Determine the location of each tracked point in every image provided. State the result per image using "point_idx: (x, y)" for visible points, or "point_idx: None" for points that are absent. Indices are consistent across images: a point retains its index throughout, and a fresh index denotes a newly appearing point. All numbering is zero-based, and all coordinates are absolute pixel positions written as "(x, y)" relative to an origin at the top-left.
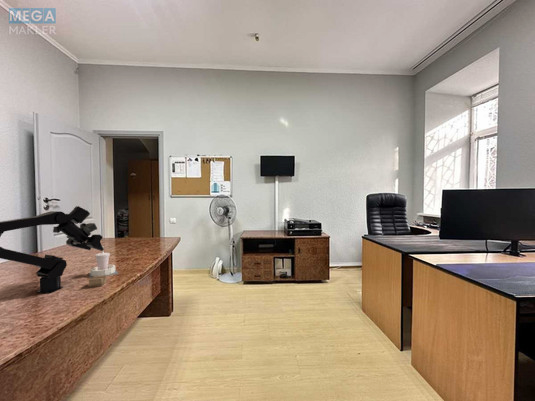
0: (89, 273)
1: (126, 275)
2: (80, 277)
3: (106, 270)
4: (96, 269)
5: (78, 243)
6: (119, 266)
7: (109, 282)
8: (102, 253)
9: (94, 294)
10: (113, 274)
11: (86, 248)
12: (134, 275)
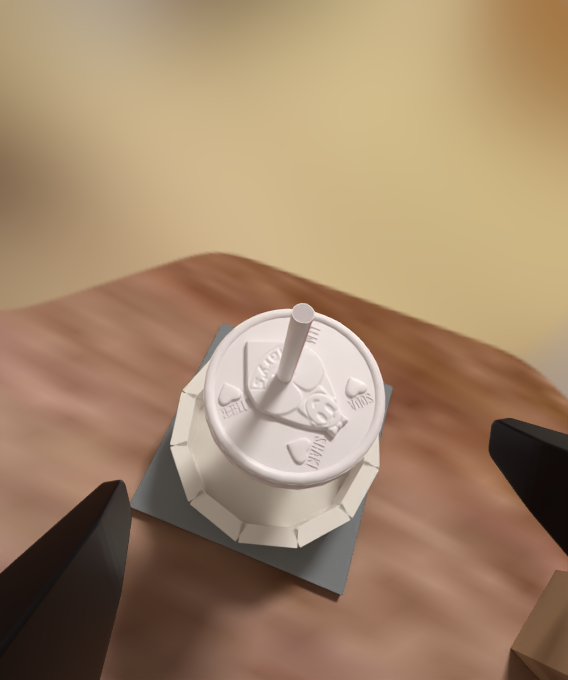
0: (156, 506)
1: (467, 380)
2: (173, 611)
3: (375, 453)
4: (192, 453)
5: None
6: (187, 272)
7: (549, 542)
8: (288, 380)
9: None
10: (384, 419)
11: (106, 611)
12: (511, 356)
